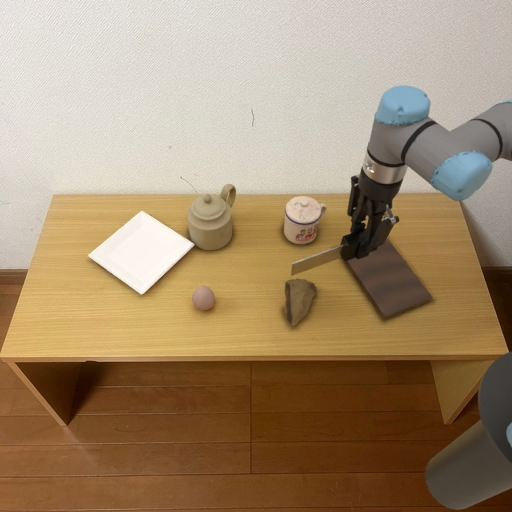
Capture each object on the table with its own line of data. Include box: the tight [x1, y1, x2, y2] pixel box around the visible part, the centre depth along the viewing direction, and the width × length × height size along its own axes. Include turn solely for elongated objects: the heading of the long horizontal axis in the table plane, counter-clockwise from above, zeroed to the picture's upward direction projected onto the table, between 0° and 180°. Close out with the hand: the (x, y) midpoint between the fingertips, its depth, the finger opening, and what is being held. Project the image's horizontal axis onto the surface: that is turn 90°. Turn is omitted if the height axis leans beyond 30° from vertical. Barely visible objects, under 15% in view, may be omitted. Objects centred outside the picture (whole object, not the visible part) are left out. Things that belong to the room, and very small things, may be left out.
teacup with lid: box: [283, 195, 327, 245], centre depth 121 cm, size 12×9×12 cm
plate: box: [87, 210, 195, 295], centre depth 119 cm, size 19×19×2 cm
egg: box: [191, 285, 216, 311], centre depth 109 cm, size 5×5×7 cm
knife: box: [290, 227, 378, 277], centre depth 99 cm, size 20×3×6 cm, turn 114°
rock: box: [284, 277, 318, 327], centre depth 109 cm, size 11×9×10 cm
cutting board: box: [344, 238, 433, 321], centre depth 117 cm, size 22×13×2 cm, turn 24°
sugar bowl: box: [186, 183, 237, 251], centre depth 119 cm, size 15×11×15 cm
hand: (357, 250), depth 103 cm, fingers closed on knife, 3 cm apart
